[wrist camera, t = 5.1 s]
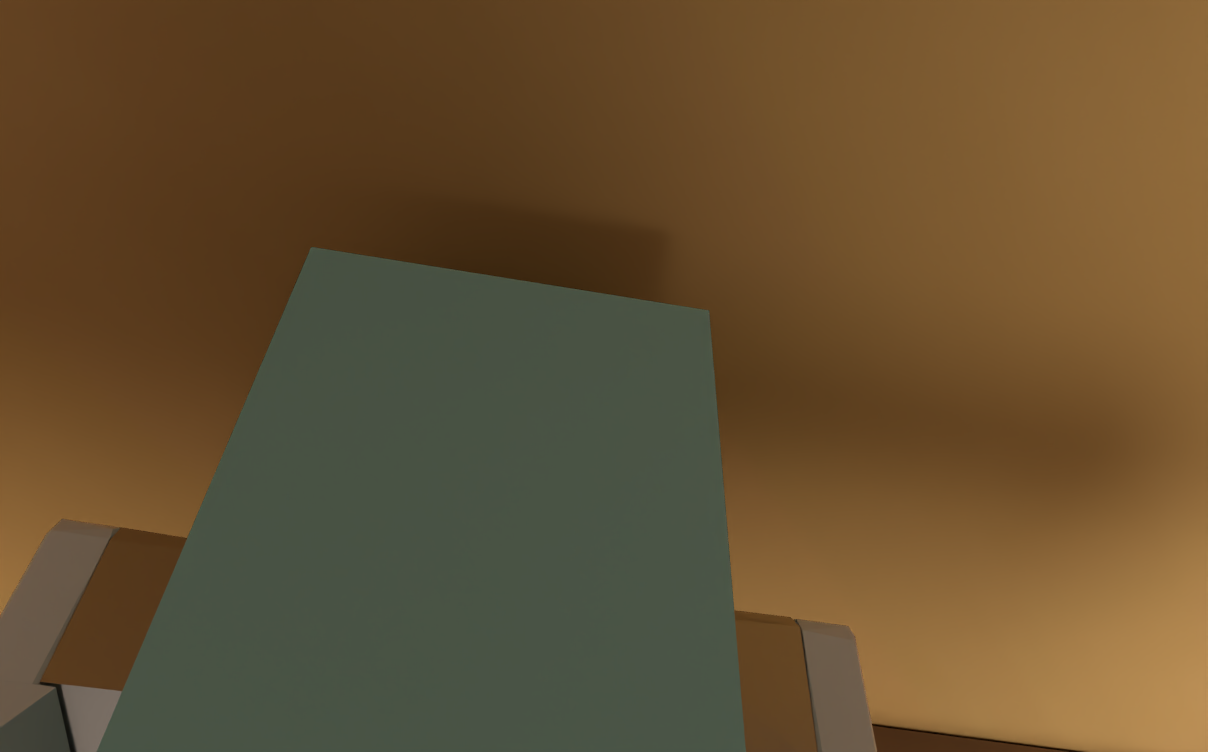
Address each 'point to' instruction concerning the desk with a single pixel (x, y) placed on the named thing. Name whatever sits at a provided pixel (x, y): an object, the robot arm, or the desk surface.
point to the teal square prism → (455, 532)
